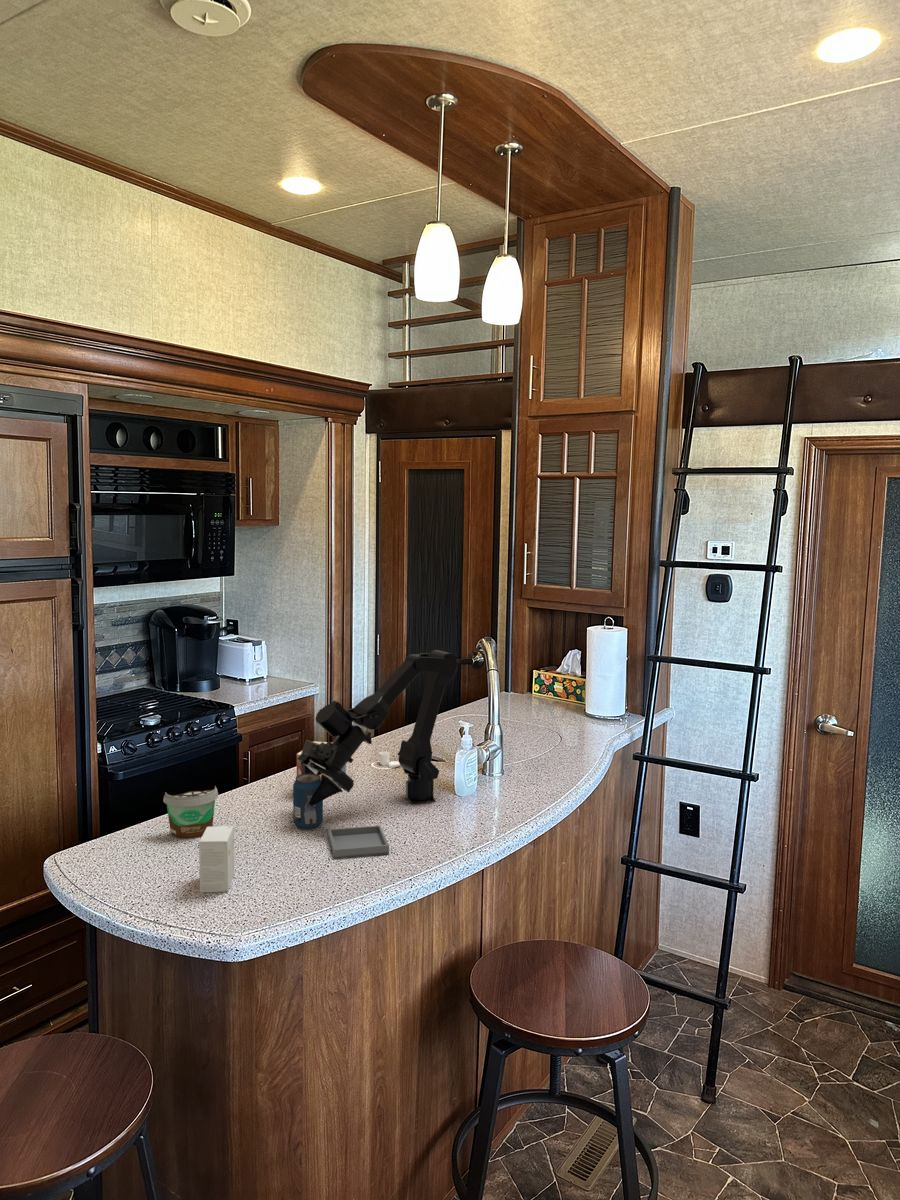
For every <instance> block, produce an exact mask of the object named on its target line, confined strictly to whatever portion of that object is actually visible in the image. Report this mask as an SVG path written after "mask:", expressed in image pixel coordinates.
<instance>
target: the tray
mask: <svg viewBox="0 0 900 1200" xmlns="http://www.w3.org/2000/svg"><path fill="white" fill-rule="evenodd" d="M327 833H328V842H329V845H330V849H331V853H332V856H333V857H332V858H333V859H334V860H337V859H338V860H339V859H348V858H360V857H362V858H363V857H372V856H383V855H390V845H389V844H390V843H388V839H387V838H386V835H385V833H384V830H383V828H382V827H381V825H380V824H379V825H378V824H377V825H365V826H355V827H354V826H352V827H343V828H342V827H341V828H340V827H339V828H329V829H328V831H327Z"/></svg>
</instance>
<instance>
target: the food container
mask: <svg viewBox="0 0 900 1200" xmlns="http://www.w3.org/2000/svg"><path fill="white" fill-rule="evenodd" d="M218 798H219V792H218V788H217V786H216V785H215V786H214V789H213V788H212V789H209V790H208V789H207V790H190V791H186V792H183V793H179V794H173V795H171V794H168V793H167V792H164V795H163V803H164V804H165V805H166V809H167V815H168V823H169V831H170V835H171V836H172V837H175V838H177V839H183V840H184V839H186V840H188V839H197V838H201V837H202V835H203V834H204V832H205V830H206V828H207V827H214V825H213V824H214V818H215V817H214V816H215V813H214V812H215V805H216V800H217V799H218Z"/></svg>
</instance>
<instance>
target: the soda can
mask: <svg viewBox="0 0 900 1200" xmlns="http://www.w3.org/2000/svg"><path fill="white" fill-rule="evenodd" d="M320 784H321V779H320V776H319V775H317V774H301V775H298V776H297V775H296V777H295V781H294V783H293V784H292V786H293V787H292V792H293V793H292V795H293V796H292V797H293V799H292V804H293V805H292V809H293V810H292V812H293V813H292V814H293V815H292V816H293V817H292V818H293V824H294V825H295V828H296V829H297V830H299V831H305V832H306V831H307V832H309V831H314V830H317V829H319V828H320V827H321V825H322V824H323V821H324V809H323V808H324V800H322V801H321V802H319V803H317V804H315V805H313V806H311V805H309V801H310V799H311V798H312V796H313V795H314V793H315V792H316V790H317V788H318V787H319V785H320Z"/></svg>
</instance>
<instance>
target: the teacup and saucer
mask: <svg viewBox="0 0 900 1200" xmlns="http://www.w3.org/2000/svg"><path fill="white" fill-rule="evenodd" d="M390 755H391V753H390V752H389V751H379V752H378V753H377V754H376V757H377V760H378V761H375V762H380V763H379V764H380V766H381V767H378V766H376V765H375V766H376V767H375V766H374V765H373V764H374V763H375V762H372V763H371V764H370V765H371V766H370V767H372V768H374V769H378V770H391V769H394V768H398V767H401V765H400V763H399V760H398V761H397V760H396V761H392V760H390ZM389 761H391V762H389ZM387 766H388V767H387ZM377 767H378V768H377Z"/></svg>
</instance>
